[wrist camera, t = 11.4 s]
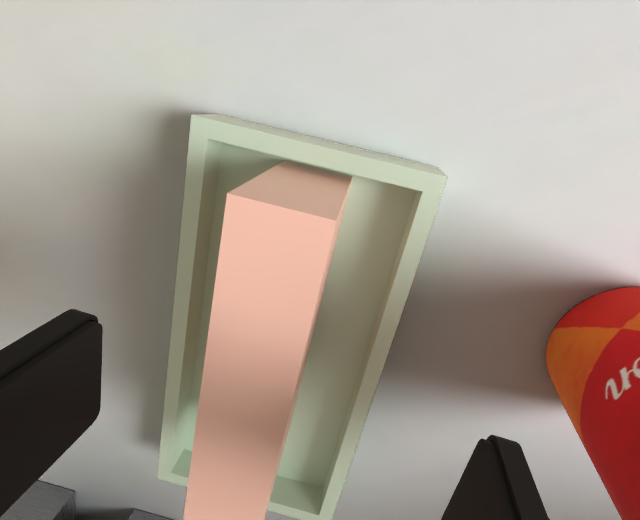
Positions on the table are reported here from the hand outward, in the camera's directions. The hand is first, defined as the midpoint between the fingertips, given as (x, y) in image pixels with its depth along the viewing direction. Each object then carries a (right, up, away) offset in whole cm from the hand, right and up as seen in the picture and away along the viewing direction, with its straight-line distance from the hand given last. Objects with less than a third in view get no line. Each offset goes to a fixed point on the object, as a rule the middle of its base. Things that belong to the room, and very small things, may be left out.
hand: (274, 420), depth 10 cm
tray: (0, +1, +8) cm, 8 cm away
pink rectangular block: (0, +2, +7) cm, 7 cm away
